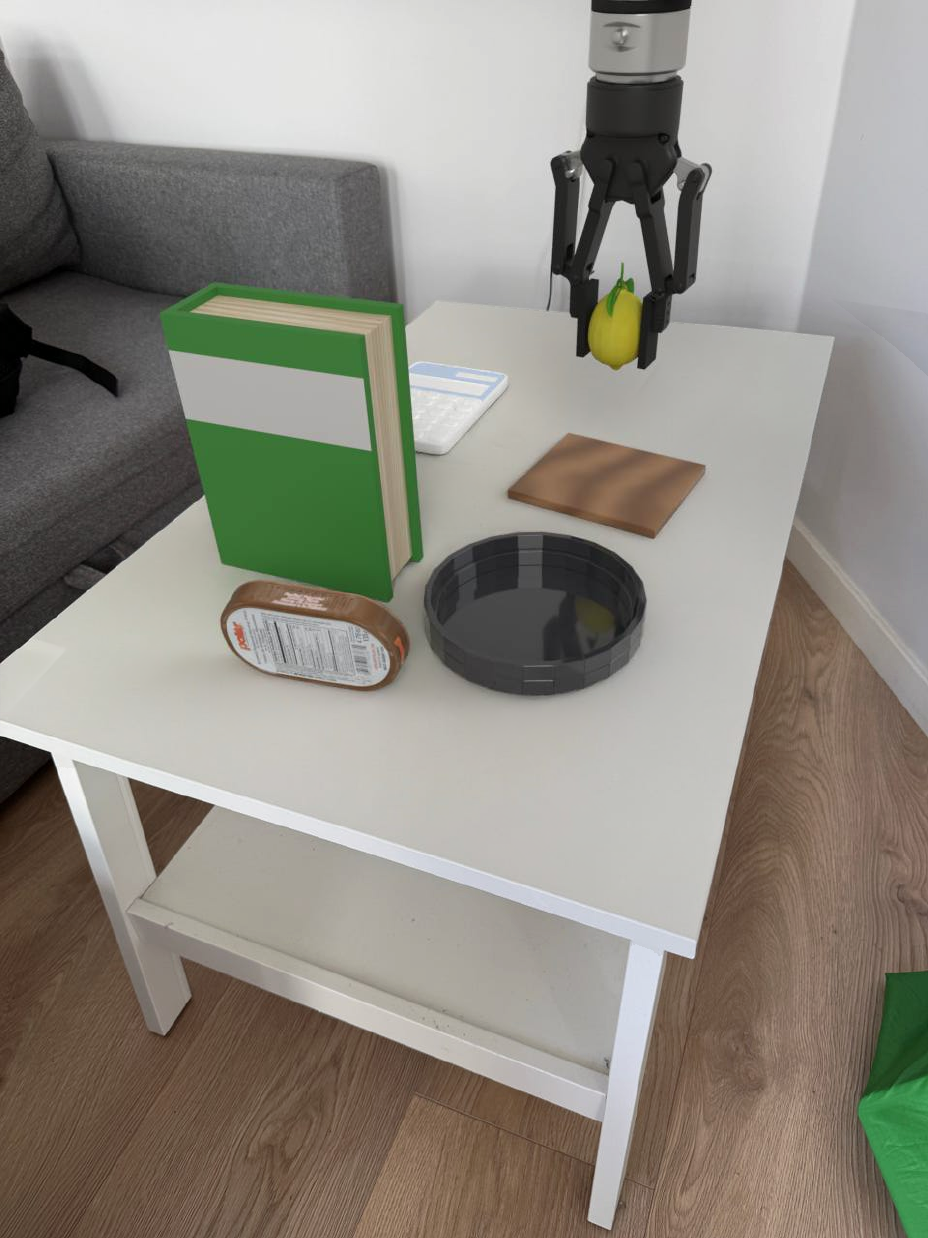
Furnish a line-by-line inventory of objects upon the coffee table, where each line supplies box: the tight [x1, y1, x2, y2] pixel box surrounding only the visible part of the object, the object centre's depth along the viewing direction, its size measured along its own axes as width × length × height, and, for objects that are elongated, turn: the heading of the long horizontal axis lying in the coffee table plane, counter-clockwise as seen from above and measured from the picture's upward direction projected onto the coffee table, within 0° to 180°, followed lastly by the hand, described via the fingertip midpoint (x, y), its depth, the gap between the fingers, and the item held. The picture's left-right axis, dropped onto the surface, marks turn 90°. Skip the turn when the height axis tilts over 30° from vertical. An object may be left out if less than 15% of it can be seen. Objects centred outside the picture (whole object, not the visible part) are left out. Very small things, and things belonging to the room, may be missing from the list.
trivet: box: [507, 432, 707, 539], centre depth 95 cm, size 16×14×1 cm
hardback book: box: [159, 281, 424, 603], centre depth 79 cm, size 18×7×24 cm, turn 67°
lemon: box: [588, 262, 643, 371], centre depth 84 cm, size 7×6×10 cm
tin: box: [219, 579, 411, 692], centre depth 71 cm, size 15×3×8 cm, turn 74°
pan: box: [423, 531, 648, 697], centre depth 77 cm, size 18×18×4 cm
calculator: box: [408, 360, 509, 456], centre depth 109 cm, size 13×20×2 cm, turn 156°
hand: (615, 357), depth 86 cm, fingers closed on lemon, 5 cm apart
